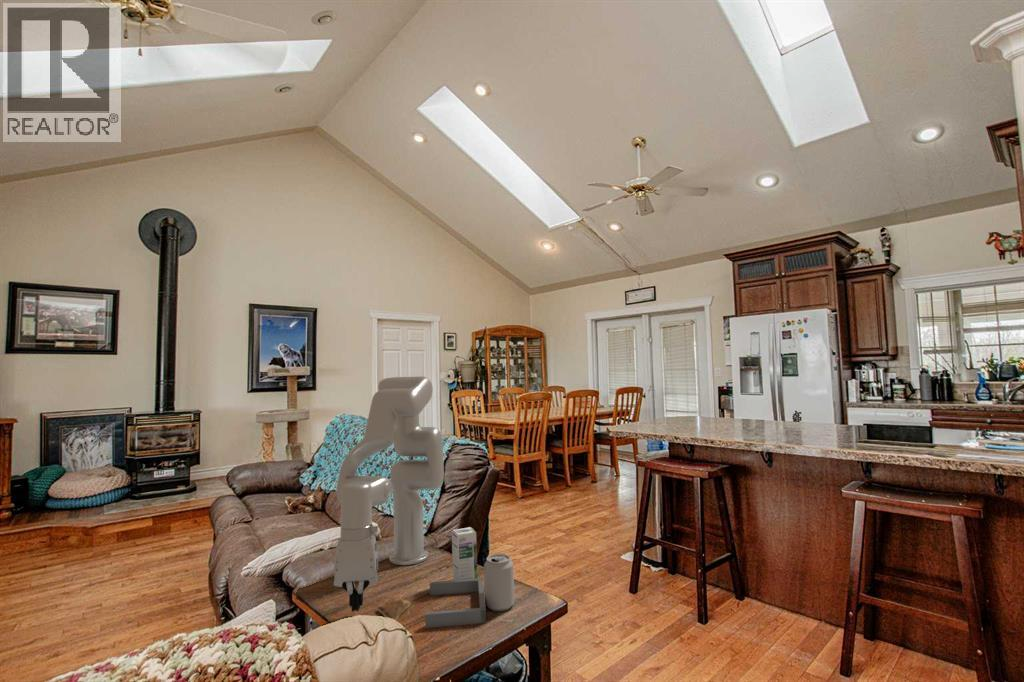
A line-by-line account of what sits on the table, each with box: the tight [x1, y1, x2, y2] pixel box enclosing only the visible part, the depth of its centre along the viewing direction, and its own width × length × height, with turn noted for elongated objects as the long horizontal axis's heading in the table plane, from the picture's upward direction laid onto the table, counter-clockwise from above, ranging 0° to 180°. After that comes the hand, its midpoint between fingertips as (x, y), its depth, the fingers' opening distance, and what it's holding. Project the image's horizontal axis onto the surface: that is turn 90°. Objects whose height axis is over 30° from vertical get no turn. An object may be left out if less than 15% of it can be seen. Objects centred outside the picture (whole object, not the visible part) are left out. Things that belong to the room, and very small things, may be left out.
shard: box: [376, 598, 412, 622], centre depth 121 cm, size 11×8×2 cm
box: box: [424, 577, 487, 629], centre depth 123 cm, size 18×14×3 cm
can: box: [483, 553, 515, 612], centre depth 124 cm, size 8×8×12 cm
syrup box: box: [451, 526, 479, 580], centre depth 139 cm, size 6×6×14 cm
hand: (356, 608), depth 120 cm, fingers closed
